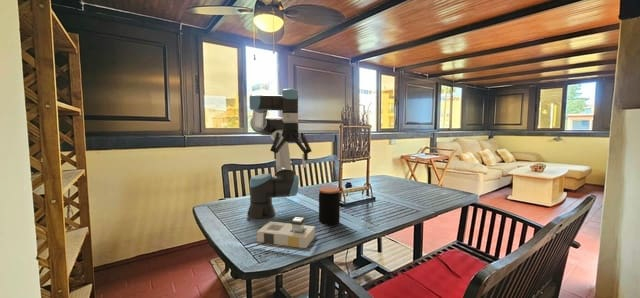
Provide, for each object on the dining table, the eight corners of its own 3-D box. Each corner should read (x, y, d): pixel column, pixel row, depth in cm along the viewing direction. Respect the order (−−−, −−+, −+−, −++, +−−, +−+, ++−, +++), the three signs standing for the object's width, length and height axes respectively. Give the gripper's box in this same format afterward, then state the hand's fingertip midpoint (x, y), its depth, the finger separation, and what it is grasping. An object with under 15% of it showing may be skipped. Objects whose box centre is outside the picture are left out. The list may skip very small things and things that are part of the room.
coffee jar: (327, 217, 150) (327, 185, 148) (343, 222, 143) (343, 188, 141) (314, 223, 142) (314, 189, 140) (331, 228, 135) (331, 192, 133)
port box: (257, 245, 117) (256, 231, 117) (270, 233, 129) (270, 221, 128) (305, 252, 111) (305, 237, 110) (315, 239, 123) (315, 226, 122)
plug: (292, 242, 117) (291, 220, 116) (295, 238, 121) (295, 216, 120) (301, 244, 116) (301, 221, 115) (304, 240, 120) (304, 217, 119)
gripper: (262, 122, 130) (263, 166, 132) (312, 122, 123) (313, 169, 125) (270, 122, 137) (270, 164, 140) (317, 122, 130) (317, 166, 132)
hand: (290, 166), depth 132 cm, fingers open, 13 cm apart
